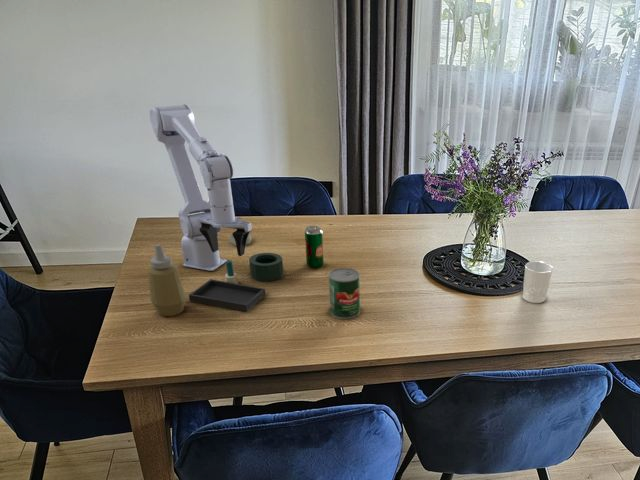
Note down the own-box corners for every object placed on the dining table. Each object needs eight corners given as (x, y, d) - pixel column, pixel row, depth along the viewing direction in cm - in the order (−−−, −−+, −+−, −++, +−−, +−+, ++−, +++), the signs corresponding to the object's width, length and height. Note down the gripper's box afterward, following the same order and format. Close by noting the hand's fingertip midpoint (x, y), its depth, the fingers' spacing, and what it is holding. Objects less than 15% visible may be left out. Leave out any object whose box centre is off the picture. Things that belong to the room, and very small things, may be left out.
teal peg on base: (223, 285, 169) (220, 262, 165) (229, 281, 172) (226, 258, 168) (234, 287, 169) (231, 264, 165) (240, 282, 171) (237, 259, 168)
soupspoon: (230, 249, 191) (252, 248, 194) (229, 239, 190) (251, 239, 192) (229, 221, 208) (249, 221, 211) (228, 212, 207) (249, 212, 209)
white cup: (529, 306, 174) (534, 274, 169) (515, 294, 180) (520, 263, 174) (552, 301, 177) (558, 270, 172) (537, 290, 183) (542, 259, 178)
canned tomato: (346, 322, 158) (345, 284, 152) (323, 312, 161) (321, 274, 155) (366, 311, 164) (366, 273, 158) (343, 301, 167) (343, 265, 161)
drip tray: (190, 301, 160) (188, 294, 159) (211, 285, 168) (210, 279, 167) (247, 312, 158) (246, 305, 157) (265, 295, 166) (265, 288, 165)
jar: (245, 278, 174) (243, 262, 171) (260, 266, 181) (258, 250, 179) (274, 283, 173) (273, 267, 170) (288, 271, 180) (287, 255, 177)
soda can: (319, 270, 182) (317, 232, 176) (303, 267, 183) (301, 229, 177) (326, 263, 187) (324, 226, 180) (310, 261, 187) (308, 224, 181)
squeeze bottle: (195, 307, 157) (183, 242, 148) (172, 321, 151) (159, 254, 141) (169, 301, 159) (156, 236, 150) (146, 314, 153) (131, 247, 143)
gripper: (186, 205, 156) (195, 254, 163) (239, 212, 154) (245, 262, 161) (202, 197, 162) (209, 245, 169) (253, 204, 160) (258, 252, 167)
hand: (228, 252), depth 165 cm, fingers open, 7 cm apart
